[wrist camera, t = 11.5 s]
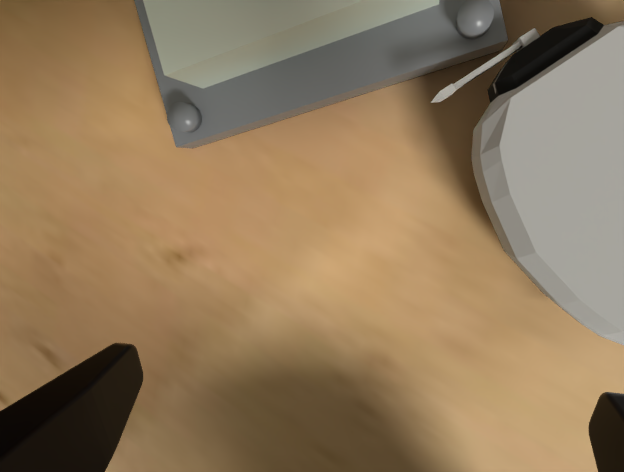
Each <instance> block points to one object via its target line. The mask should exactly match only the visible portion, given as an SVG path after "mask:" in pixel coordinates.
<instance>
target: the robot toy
mask: <svg viewBox="0 0 624 472" xmlns="http://www.w3.org/2000/svg"><path fill="white" fill-rule="evenodd" d="M514 52H517V53H515V54H514V55H513V56H512V57H511V58H510V59H509V60H508V61H507V62H506V64H505V65H504V66H503V68H502V69H501V71H500V72H499V73H498V75H497V76H496V78H495V79H494V81H493V83H492V84H491V86H490V87H489V89H488V95H489V99H490V104H489V106H488V108H487V109H486V111H485V112H484V114H483V115H482V117H481V119H480V120H479V122H478V123H477V125H476V127H475V128H474V130H473V142H472V156H471V159H472V166H473V172H474V176H475V179H476V183H477V186H478V190H479V193H480V196H481V200H482V202H483V205H484V207H485V209H486V211H487V213H488V216H489V218H490V220H491V222H492V225H493V227H494V229H495V231H496V234H497V236H498V238H499V240H500V243H501V245H502V247H503V249H504V251H505V252H506V253H507V254H508V256H509V257H510V258H511V259H512V260H513V261H514V262H515V263H516V264H517V265H518V266H519V267H520V269H521V270H522V271H523V272H524V273H525V274H526V275H527V276H528V277H529V278H530V279H531V281H532V282H533V283H534V284H535V285H536V286H537V287H538V288H539V289H540V290H541V291H542V292H543V293H544V294H545V295H546V296H547V297H549V298H550V299H551V300H552V301H553V302H555V303H556V304H557V305H558V306H559V307H560V308H562V309H563V310H564V311H565V312H567V313H568V314H569V315H571V316H572V317H573V318H575V319H576V320H577V321H578V322H580V323H581V324H582V325H584V326H585V327H587V328H588V329H590V330H591V331H593V332H594V333H596V334H597V335H599V336H601V337H604V338H606V339H609V340H611V341H614V342H616V343H619V344H621V345H624V21H621V22H616V23H612V24H607V25H603V24H601V23H600V22H598V21H597V20H595V19H593V18H592V17H590V18H587V19H583V20H579V21H575V22H572V23H568V24H564V25H561V26H557V27H554V28H552V29H550V30H549V31H547V32H546V33H544V34H543V35H541V36H540V35H539V34H538V32H537V31H536V29H535V28H533V29H532V30H530V31H529V32H527V33H526V34H524V35H523V36H521V37H519V38H518V39H517V40H516V41H515V42H514V43H513V44H512V46H511V47H510V48H508V49H507V50H505V51H504V52H502V53H500V54H499V55H497V56H496V57H494V58H493V59H491V60H490V61H488V62H487V63H485V64H484V65H482V66H480V67H479V68H477V69H476V70H474V71H473V72H471V73H470V74H468V75H467V76H465V77H463V78H462V79H460V80H459V81H457V82H456V83H454V84H450V85H449V86H447V87H446V88H444V89H442V90H441V91H440V92H439V93H438V94H437V95H436V96H435V98H434V99H433V100H432V102H431V103H434V102H441V101H443V100H444V99H446V98H447V97H449V96H450V95H452V94H453V93H454V92H455V91H456V90H457V89H459V88H460V87H462V86H463V85H465V84H466V83H468V82H469V81H471V80H473V79H474V78H476V77H477V76H479V75H480V74H482V73H483V72H485V71H486V70H488V69H490V68H491V67H493V66H494V65H496V64H497V63H499V62H500V61H502V60H503V59H505V58H506V57H508V56H510V55H511V54H513V53H514Z"/></svg>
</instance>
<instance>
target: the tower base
mask: <svg viewBox="0 0 624 472" xmlns="http://www.w3.org/2000/svg"><path fill="white" fill-rule="evenodd" d="M134 1H135V5H136V8H137V12H138V15H139V19H140V22H141V26H142V29H143V33H144V36H145V40H146V43H147V47H148V50H149V54H150V57H151V61H152V64H153V68H154V71H155V75H156V78H157V82H158V85H159V89H160V92H161V96H162V99H163V103H164V106H165V110H166V113H167V120H168V123H169V125H170V127H171V131H172V134H173V138H174V141H175V145H176V147H180V148H196V147H199V146H202V145H205V144H208V143H212V142H215V141H218V140H221V139H224V138H227V137H230V136H233V135H237V134H240V133H243V132H246V131H249V130H252V129H255V128H259V127H262V126H265V125H268V124H271V123H274V122H277V121H281V120H284V119H287V118H290V117H293V116H296V115H299V114H302V113H306V112H309V111H312V110H315V109H318V108H321V107H324V106H328V105H331V104H334V103H337V102H340V101H343V100H346V99H350V98H353V97H356V96H359V95H362V94H365V93H368V92H372V91H375V90H378V89H381V88H384V87H387V86H390V85H393V84H397V83H400V82H403V81H406V80H409V79H412V78H415V77H419V76H422V75H425V74H428V73H431V72H434V71H437V70H441V69H444V68H447V67H450V66H453V65H456V64H459V63H462V62H466V61H469V60H472V59H475V58H478V57H481V56H484V55H488V54H491V53H494V52H497V51H500V50H502V49H503V47H504V45H505V44H506V42H507V41H508V37H507V33H506V28H505V24H504V19H503V15H502V10H501V5H500V1H499V0H134Z"/></svg>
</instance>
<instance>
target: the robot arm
mask: <svg viewBox="0 0 624 472" xmlns="http://www.w3.org/2000/svg"><path fill="white" fill-rule="evenodd" d="M142 382H143V371H142V367H141V363H140V359H139V355H138V352H137V349H136V347H135V346H134V345H132V344H125V343H114V344H112V345H110V346H108V347H107V348H105V349H103V350H102V351H100V352H98V353H97V354H95V355H93V356H92V357H90V358H88V359H87V360H85V361H83V362H82V363H80V364H78V365H77V366H75V367H73V368H72V369H70V370H68V371H67V372H65V373H63V374H62V375H60V376H58V377H57V378H55V379H53V380H52V381H50V382H48V383H47V384H45V385H43V386H42V387H40V388H38V389H37V390H35V391H33V392H32V393H30V394H28V395H27V396H25V397H23V398H22V399H20V400H18V401H17V402H15V403H13V404H12V405H10V406H8V407H7V408H5V409H3V410H2V411H0V472H105V470H106V468H107V466H108V464H109V462H110V460H111V458H112V456H113V454H114V452H115V450H116V447H117V445H118V443H119V440H120V438H121V435H122V433H123V430H124V428H125V425H126V423H127V420H128V418H129V415H130V413H131V410H132V408H133V405H134V403H135V400H136V398H137V395H138V393H139V390H140V388H141V385H142ZM589 437H590V441H591V445H592V449H593V453H594V457H595V461H596V465H597V469H598V472H624V394H620V393H610V392H605V393H603V394H601V395H600V397H599V399H598V402H597V404H596V407H595V409H594V412H593V414H592V417H591V419H590V422H589Z"/></svg>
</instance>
